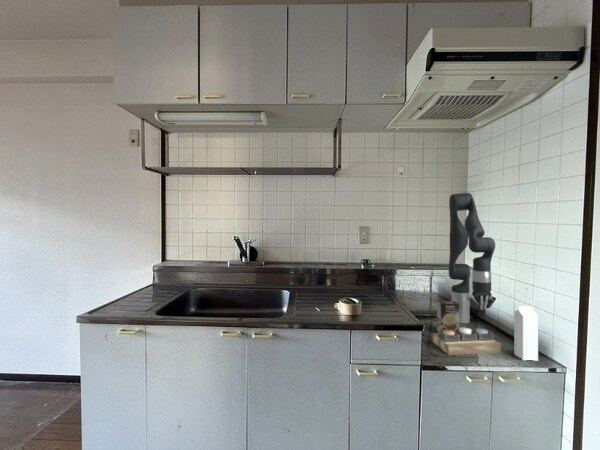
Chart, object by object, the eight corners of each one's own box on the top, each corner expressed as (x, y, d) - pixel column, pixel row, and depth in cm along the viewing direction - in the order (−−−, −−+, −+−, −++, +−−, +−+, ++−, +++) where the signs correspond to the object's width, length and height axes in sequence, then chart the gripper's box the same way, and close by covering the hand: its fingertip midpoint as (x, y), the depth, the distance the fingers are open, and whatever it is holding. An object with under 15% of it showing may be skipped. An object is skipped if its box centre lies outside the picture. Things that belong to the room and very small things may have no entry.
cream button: (456, 332, 142) (456, 327, 142) (467, 332, 142) (466, 327, 142) (463, 336, 137) (463, 331, 137) (473, 336, 137) (473, 331, 137)
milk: (514, 354, 132) (513, 304, 131) (528, 354, 131) (528, 304, 131) (523, 360, 126) (522, 308, 125) (538, 361, 125) (538, 308, 125)
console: (432, 341, 146) (432, 327, 146) (479, 339, 147) (479, 325, 147) (448, 354, 132) (448, 338, 132) (500, 352, 133) (500, 336, 133)
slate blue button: (473, 334, 142) (473, 328, 142) (483, 333, 143) (483, 328, 143) (480, 338, 137) (480, 332, 137) (490, 337, 138) (490, 332, 138)
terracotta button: (440, 335, 141) (440, 330, 141) (450, 334, 142) (450, 329, 142) (446, 339, 136) (446, 334, 136) (456, 339, 137) (456, 333, 137)
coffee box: (440, 334, 155) (440, 303, 155) (436, 329, 161) (436, 300, 161) (459, 334, 154) (459, 303, 154) (454, 330, 160) (454, 300, 160)
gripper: (489, 278, 144) (489, 314, 144) (463, 279, 143) (463, 315, 143) (501, 281, 136) (501, 319, 137) (473, 282, 135) (473, 320, 136)
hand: (481, 317), depth 140 cm, fingers closed
